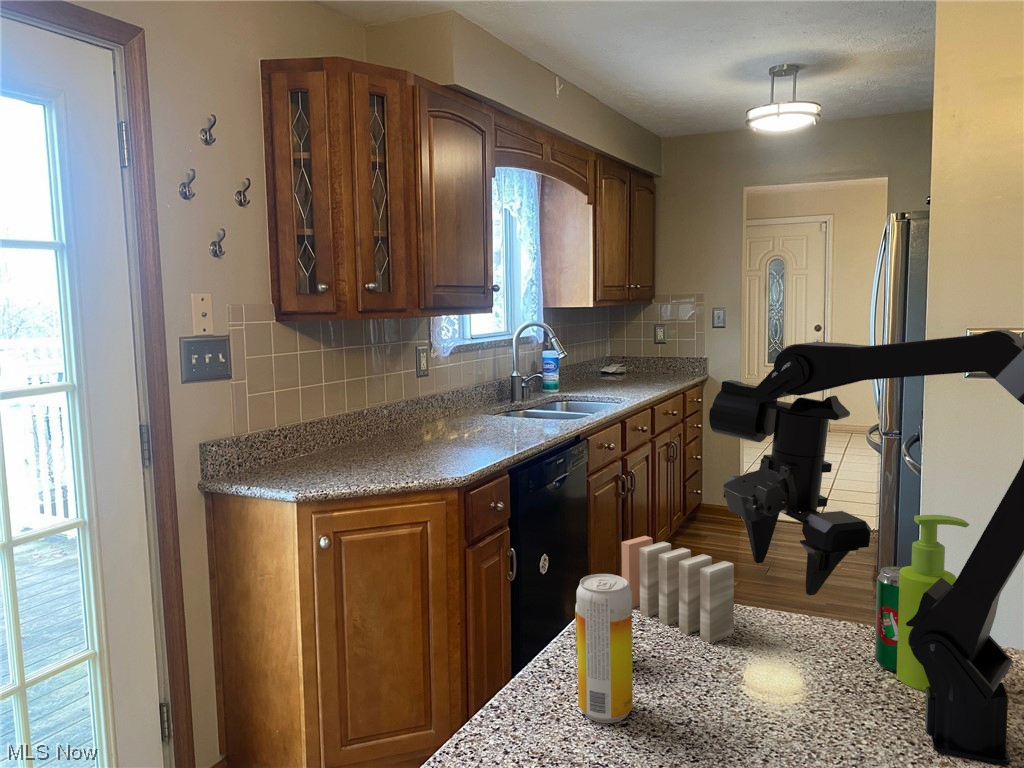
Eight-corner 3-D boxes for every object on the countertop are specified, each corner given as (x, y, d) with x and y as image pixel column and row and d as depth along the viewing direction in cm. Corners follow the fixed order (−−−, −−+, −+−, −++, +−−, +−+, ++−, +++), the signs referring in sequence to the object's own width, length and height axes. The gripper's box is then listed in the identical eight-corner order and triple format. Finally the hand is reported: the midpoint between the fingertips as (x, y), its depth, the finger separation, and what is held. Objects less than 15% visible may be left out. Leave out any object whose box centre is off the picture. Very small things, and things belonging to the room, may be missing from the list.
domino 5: (733, 634, 103) (733, 563, 102) (709, 644, 100) (709, 571, 100) (724, 630, 105) (724, 560, 104) (700, 639, 102) (700, 568, 101)
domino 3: (690, 616, 110) (690, 550, 109) (667, 625, 107) (666, 557, 106) (682, 613, 111) (682, 547, 110) (658, 621, 108) (658, 554, 107)
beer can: (635, 700, 86) (634, 574, 85) (629, 728, 81) (628, 594, 79) (583, 694, 88) (581, 570, 87) (574, 721, 82) (571, 589, 81)
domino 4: (711, 625, 106) (711, 556, 105) (687, 634, 104) (687, 564, 103) (702, 621, 108) (702, 554, 107) (679, 630, 105) (678, 561, 104)
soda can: (907, 655, 96) (909, 564, 94) (928, 675, 91) (931, 579, 89) (867, 656, 96) (869, 565, 94) (886, 675, 91) (889, 579, 89)
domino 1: (653, 601, 116) (652, 538, 115) (629, 609, 113) (628, 544, 112) (645, 598, 117) (645, 535, 116) (622, 605, 114) (621, 542, 113)
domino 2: (671, 608, 113) (671, 543, 112) (647, 617, 110) (647, 550, 109) (663, 605, 114) (663, 541, 113) (640, 613, 111) (639, 548, 110)
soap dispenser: (970, 695, 86) (976, 525, 84) (903, 689, 87) (908, 522, 85) (953, 671, 91) (958, 511, 89) (891, 666, 93) (895, 509, 91)
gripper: (693, 434, 92) (682, 553, 95) (797, 477, 75) (780, 622, 78) (767, 431, 96) (755, 546, 99) (882, 472, 79) (864, 610, 81)
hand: (783, 577), depth 89 cm, fingers open, 9 cm apart
